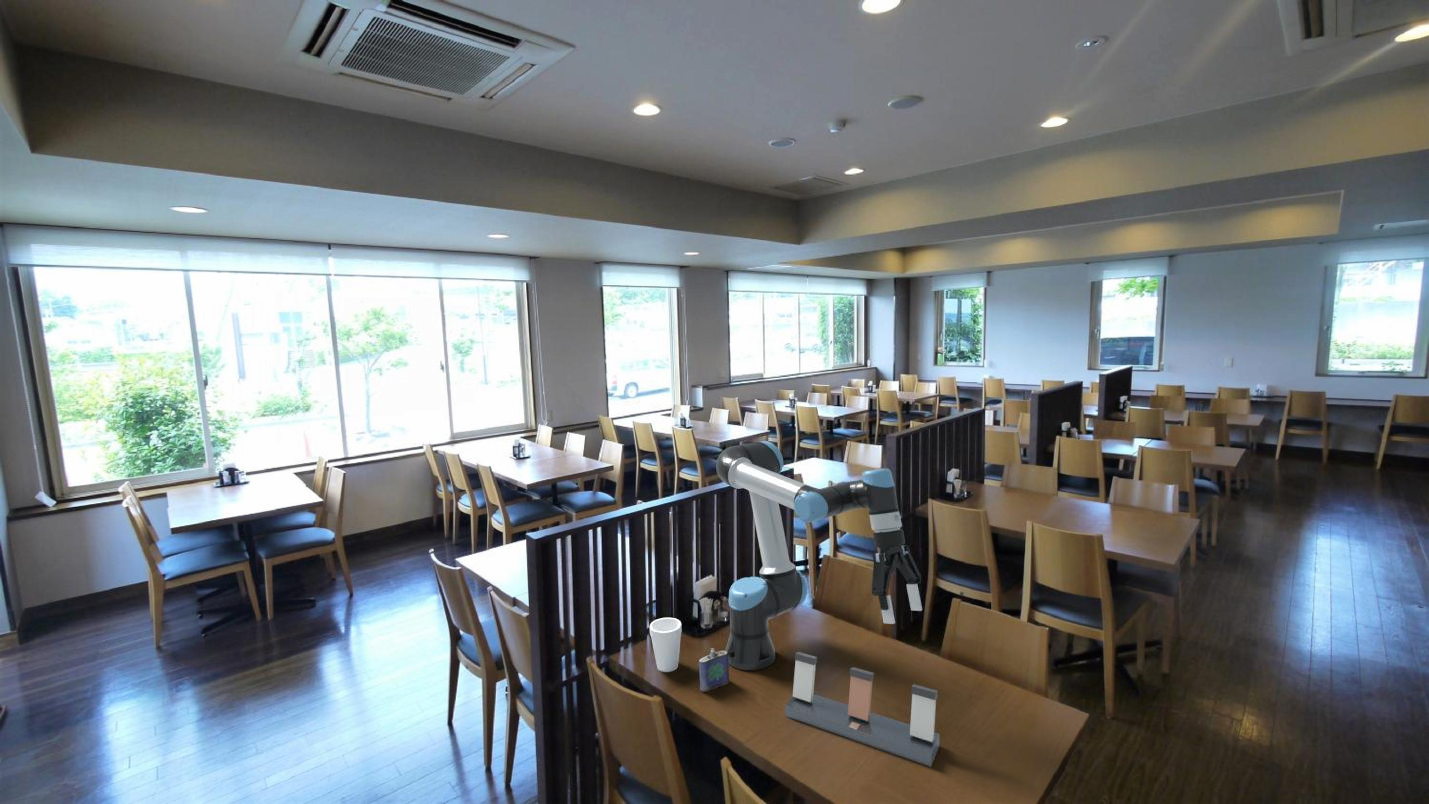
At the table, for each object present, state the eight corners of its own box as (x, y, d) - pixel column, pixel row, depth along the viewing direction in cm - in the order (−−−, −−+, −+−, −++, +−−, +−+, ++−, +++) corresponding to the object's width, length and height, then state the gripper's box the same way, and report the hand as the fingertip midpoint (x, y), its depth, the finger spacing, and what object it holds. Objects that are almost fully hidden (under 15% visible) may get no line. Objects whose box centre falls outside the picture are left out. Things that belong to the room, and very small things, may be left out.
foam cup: (678, 676, 171) (676, 633, 170) (648, 673, 173) (645, 631, 172) (686, 658, 181) (684, 618, 179) (657, 656, 182) (655, 616, 181)
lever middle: (849, 712, 147) (852, 666, 148) (870, 719, 144) (874, 672, 145) (846, 715, 145) (850, 668, 146) (868, 722, 142) (871, 674, 143)
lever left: (794, 695, 155) (798, 651, 156) (813, 701, 152) (817, 657, 153) (791, 697, 153) (795, 653, 154) (810, 703, 150) (814, 658, 151)
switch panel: (799, 699, 158) (798, 688, 157) (939, 745, 138) (939, 733, 138) (785, 716, 151) (785, 704, 151) (931, 767, 131) (931, 753, 131)
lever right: (910, 732, 138) (913, 684, 140) (934, 740, 135) (937, 690, 137) (908, 735, 137) (911, 686, 138) (932, 743, 134) (935, 692, 135)
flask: (702, 693, 162) (701, 656, 161) (697, 688, 165) (696, 652, 164) (731, 682, 167) (729, 646, 166) (725, 677, 170) (724, 642, 169)
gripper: (874, 535, 138) (891, 629, 135) (924, 522, 155) (940, 605, 152) (847, 537, 143) (863, 628, 140) (898, 524, 161) (914, 605, 157)
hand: (903, 616), depth 146 cm, fingers open, 13 cm apart
